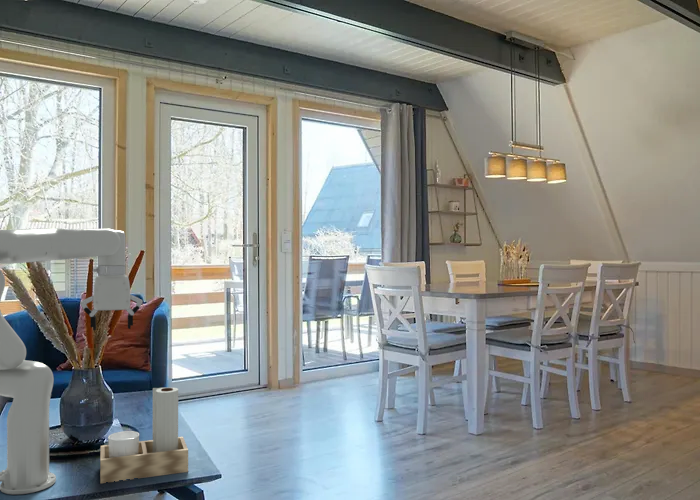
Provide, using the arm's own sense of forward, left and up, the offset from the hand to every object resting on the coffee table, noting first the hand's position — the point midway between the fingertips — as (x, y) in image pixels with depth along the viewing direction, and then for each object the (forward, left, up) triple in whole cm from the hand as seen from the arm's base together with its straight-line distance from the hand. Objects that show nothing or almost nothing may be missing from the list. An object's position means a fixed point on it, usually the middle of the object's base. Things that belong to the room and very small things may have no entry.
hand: (111, 329), depth 180 cm
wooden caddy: (+8, -20, -36) cm, 42 cm away
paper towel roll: (+14, -18, -36) cm, 43 cm away
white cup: (+3, -20, -36) cm, 41 cm away
